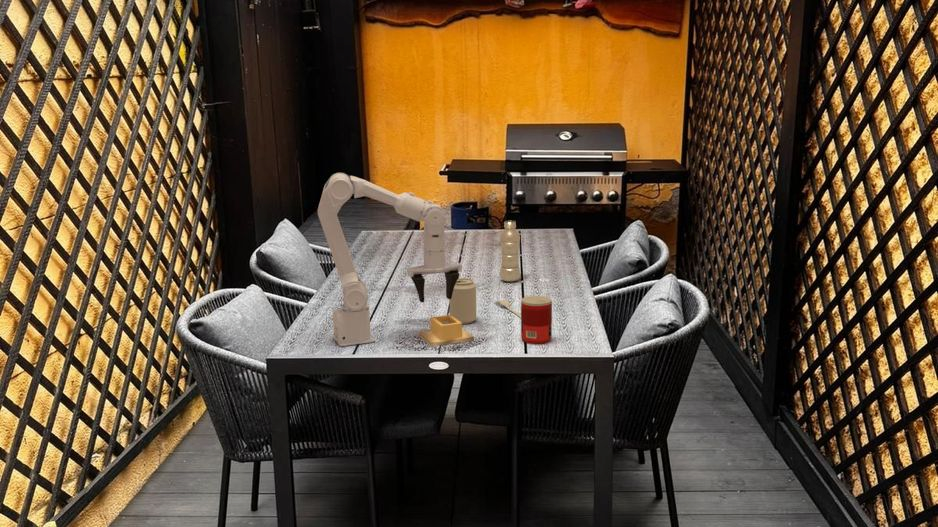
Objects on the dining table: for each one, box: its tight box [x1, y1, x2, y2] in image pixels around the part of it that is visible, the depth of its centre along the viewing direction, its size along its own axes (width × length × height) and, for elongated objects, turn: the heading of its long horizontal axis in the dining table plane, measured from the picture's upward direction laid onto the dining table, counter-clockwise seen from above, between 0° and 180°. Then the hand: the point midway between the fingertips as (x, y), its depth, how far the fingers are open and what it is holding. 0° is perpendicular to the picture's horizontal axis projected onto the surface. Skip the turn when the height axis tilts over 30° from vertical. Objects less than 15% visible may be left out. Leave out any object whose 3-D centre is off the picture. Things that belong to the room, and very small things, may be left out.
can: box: [449, 277, 477, 325], centre depth 247 cm, size 8×8×12 cm
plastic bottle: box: [499, 220, 521, 283], centre depth 289 cm, size 6×7×20 cm
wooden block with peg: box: [417, 321, 475, 348], centre depth 233 cm, size 12×10×4 cm
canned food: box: [520, 295, 553, 345], centre depth 230 cm, size 8×8×11 cm
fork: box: [493, 300, 521, 319], centre depth 258 cm, size 3×21×3 cm, turn 24°
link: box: [429, 314, 463, 341], centre depth 233 cm, size 6×8×4 cm
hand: (435, 299), depth 234 cm, fingers open, 7 cm apart
